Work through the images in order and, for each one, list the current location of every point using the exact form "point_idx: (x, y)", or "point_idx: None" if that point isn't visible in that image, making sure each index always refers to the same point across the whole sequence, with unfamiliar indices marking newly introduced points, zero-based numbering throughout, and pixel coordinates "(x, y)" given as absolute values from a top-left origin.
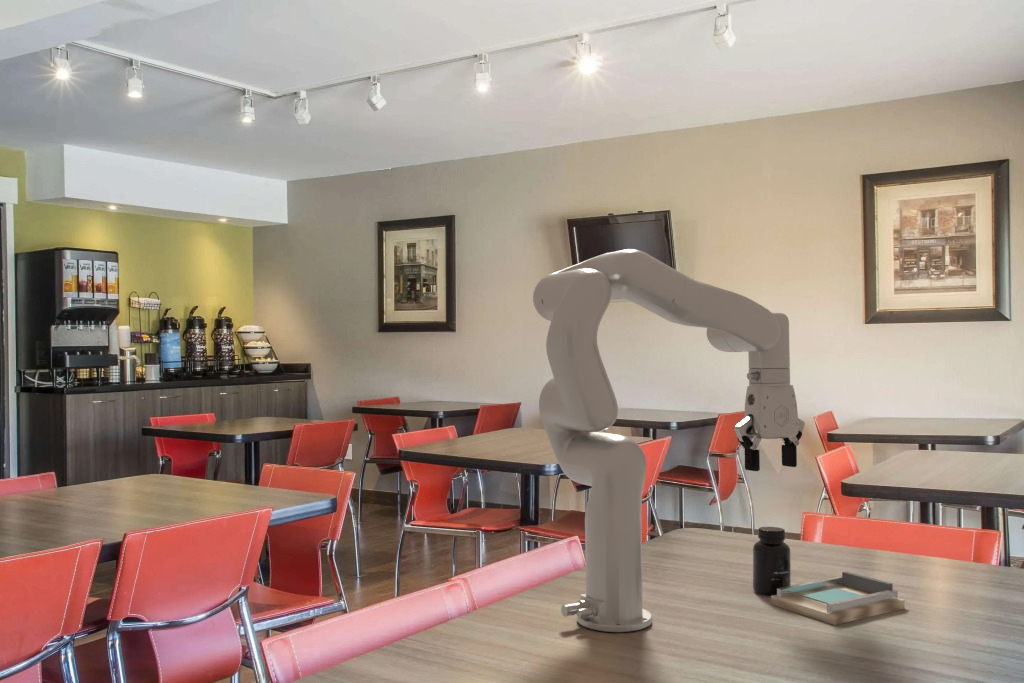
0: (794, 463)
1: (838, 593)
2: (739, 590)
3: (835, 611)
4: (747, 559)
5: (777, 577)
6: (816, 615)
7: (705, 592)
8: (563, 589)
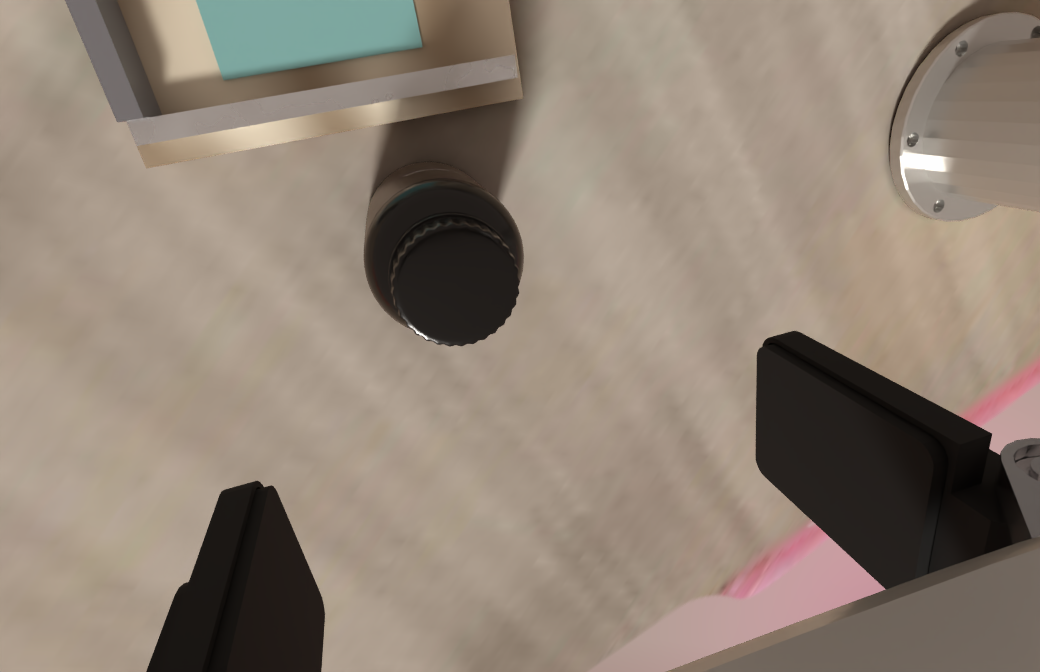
0: (249, 507)
1: (261, 2)
2: None
3: None
4: None
5: (455, 170)
6: None
7: (617, 289)
8: None
